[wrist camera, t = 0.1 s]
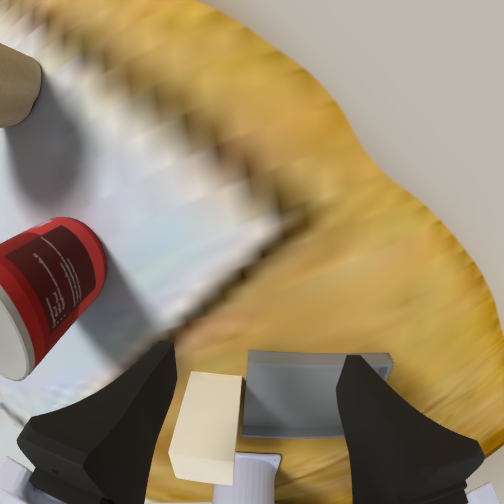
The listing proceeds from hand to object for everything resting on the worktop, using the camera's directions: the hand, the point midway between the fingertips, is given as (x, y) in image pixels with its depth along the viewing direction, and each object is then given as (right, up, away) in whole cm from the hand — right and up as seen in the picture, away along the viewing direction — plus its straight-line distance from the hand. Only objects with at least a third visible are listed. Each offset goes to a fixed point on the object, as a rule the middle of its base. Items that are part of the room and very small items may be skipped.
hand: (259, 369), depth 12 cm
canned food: (-15, +4, +10) cm, 19 cm away
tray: (+5, -9, +14) cm, 17 cm away
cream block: (-4, -8, +14) cm, 16 cm away
